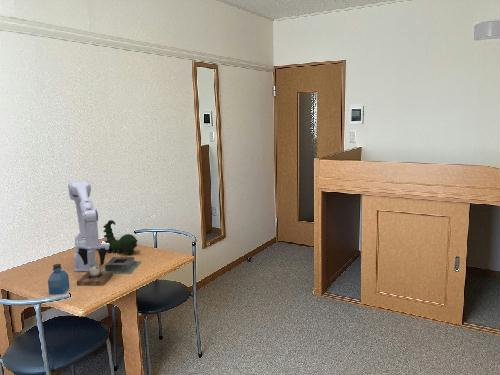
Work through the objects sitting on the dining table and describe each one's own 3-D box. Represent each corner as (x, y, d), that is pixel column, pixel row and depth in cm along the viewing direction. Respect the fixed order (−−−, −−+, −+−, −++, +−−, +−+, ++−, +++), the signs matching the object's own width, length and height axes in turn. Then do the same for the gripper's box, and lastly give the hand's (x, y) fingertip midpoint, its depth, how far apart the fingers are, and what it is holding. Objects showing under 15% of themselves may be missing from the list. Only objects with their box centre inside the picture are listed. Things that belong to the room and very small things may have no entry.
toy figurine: (102, 254, 234) (132, 257, 220) (97, 221, 232) (127, 223, 218) (115, 249, 242) (145, 252, 228) (111, 218, 240) (141, 219, 226)
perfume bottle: (69, 288, 184) (66, 262, 182) (63, 293, 178) (61, 267, 176) (55, 288, 184) (52, 262, 182) (49, 294, 178) (46, 267, 176)
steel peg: (89, 282, 190) (88, 267, 189) (93, 278, 194) (91, 264, 193) (98, 282, 190) (96, 267, 189) (101, 278, 194) (100, 264, 193)
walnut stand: (77, 285, 187) (76, 281, 186) (88, 275, 198) (88, 271, 198) (103, 285, 186) (102, 281, 186) (113, 275, 198) (112, 271, 197)
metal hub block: (98, 273, 200) (97, 266, 200) (110, 262, 216) (110, 255, 215) (130, 273, 199) (130, 266, 199) (141, 262, 215) (140, 255, 214)
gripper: (71, 238, 185) (74, 267, 187) (103, 238, 184) (106, 267, 186) (79, 234, 192) (81, 262, 194) (109, 233, 191) (112, 261, 193)
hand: (94, 264), depth 191 cm, fingers open, 7 cm apart
